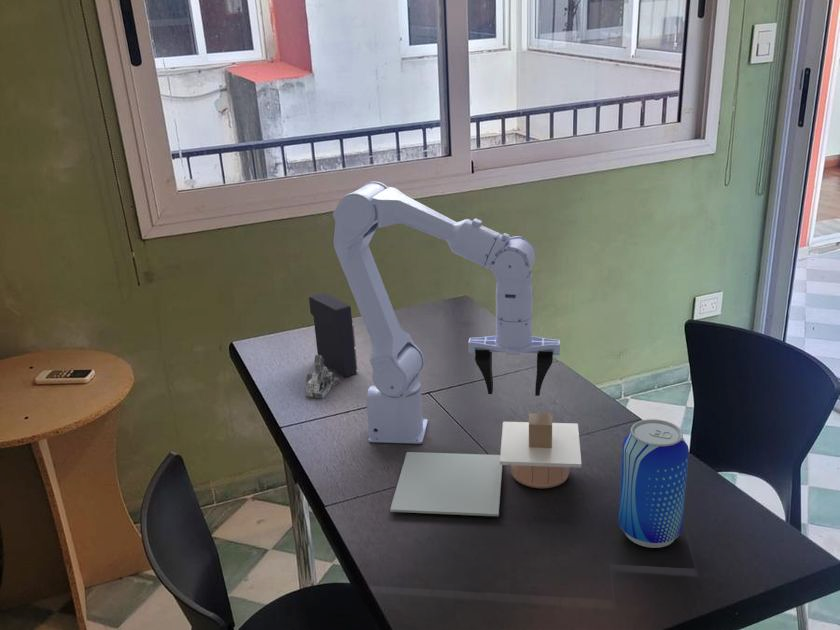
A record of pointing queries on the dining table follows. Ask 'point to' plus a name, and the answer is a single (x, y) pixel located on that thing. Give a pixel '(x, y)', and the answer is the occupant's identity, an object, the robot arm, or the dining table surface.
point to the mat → (449, 484)
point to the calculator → (334, 333)
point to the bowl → (540, 475)
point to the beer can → (653, 483)
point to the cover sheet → (540, 454)
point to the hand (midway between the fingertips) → (513, 392)
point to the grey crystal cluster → (320, 380)
